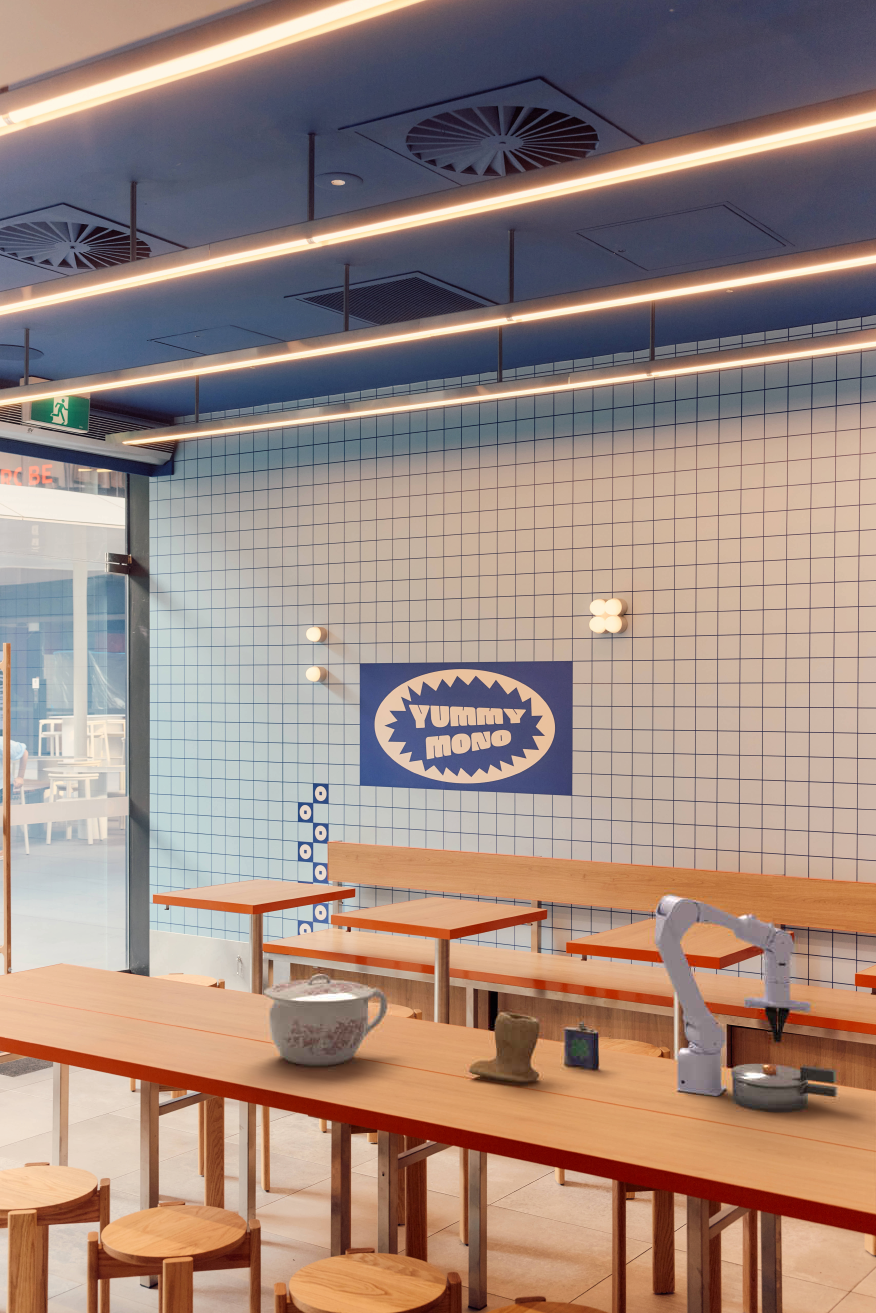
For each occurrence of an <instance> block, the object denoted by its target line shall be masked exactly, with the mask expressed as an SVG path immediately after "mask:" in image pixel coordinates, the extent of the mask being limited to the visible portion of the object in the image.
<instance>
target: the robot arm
mask: <svg viewBox="0 0 876 1313" xmlns="http://www.w3.org/2000/svg"><path fill="white" fill-rule="evenodd" d="M654 913H655V917H656V919H655V920H656V921H655V930H654V943H655V946H656V948H657V949H658V950H657V951H658V953H659V955H660V958H661V960H662V962H663V964H664V967H665V970H666V972H667V975H668V977H669V979H670V982H671V984H672V986H673V989H674V992H675V994H676V997H677V999H678V1001H679V1003H680V1006H681V1008H682V1011H683V1013H682V1017H681V1018H682V1020H683V1023H684V1035H685V1037H686V1039H687V1041H688V1042H689V1043H688V1047H681V1048H680V1049H679V1051H678V1056H677V1088H676V1091H678V1092H685V1093H692V1094H698V1095H707V1096H714V1097H718V1096H720V1095H721V1094H722V1093H723V1092H724V1091H725V1090H727V1086H726V1085H722V1049H723V1047H724V1045H725V1043H726V1038H727V1036H726V1033H725V1031H724V1029H723V1028H722V1027H721V1026H719V1024H718V1023H717V1022H716V1019H715V1017H714V1015H713V1014H712V1012H710V1010H709V1008H707V1005H706V1003H705V1001H704V998H703V996H702V994H701V992H700V988H699V986H698V984H697V982H696V981H697V980H695V977H694V974H693V971H692V970H691V967H690V964H689V963H688V960H687V957H686V955H685V952H684V950H683V948H682V946H681V941H682V940H683V937H684V935H685V934H686V933H687V932H688V931H689V929H691V927H692V926H694V924H695V923H696V922H697V923H702V922H704V921H708V922H711V923H713V924H715V925H719V926H720V927H724V928H727V929H729V930H731V931H733V934H734V936H735V937H736V939H738V940H740V941H743V942H746V943H748V944H751V945H752V946H754V947H757V948H760V949H762V950H763V959H764V960H763V962H764V963H763V968H764V969H763V970H764V971H763V973H764V975H763V976H764V977H763V978H764V980H763V981H764V984H763V986H764V988H763V990H764V993H763V994H764V997H745V998H744V1008H746V1009H747V1008H749V1009H750V1008H757V1009H764V1010H765V1011H764V1013H765V1014H764V1015H765V1016H766V1018H767V1020H768V1023H769V1025H770V1028H771V1031H772V1034H773V1035H772V1036H773V1042H774V1043H782V1034H783V1031H784V1026H785V1024H786V1022H787V1019H788V1017H789V1014H790V1011H794V1012H795V1011H796V1012H805V1013H811V1002H809V1001H801V1000H793V999H791V974H790V973H791V962H790V959H791V954H792V952H793V950H794V948H795V941H794V940H793V937H792V935H790V933H789V932H788V931H786V930H783V929H780V928H777V927H775V924H774V923H772V922H768V923H766V922H764V921H762V920H759V919H757V918H758V916H757V915H753V914H750V913H749V914H748V915H747V914H743V915H741V916H737V917H736V916H734V915H732V914H730V913H728V912H726V911H723V910H722V909H719V908H716V907H715V906H713V905H710V904H708V903H705V902H703V901H698V900H694V899H690V898H686V897H680V896H678V895H675V894H668V895H664V896H663V897H661V899H660V901H659V903H658V904H657V906H656V908H655V910H654Z"/></svg>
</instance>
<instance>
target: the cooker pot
mask: <svg viewBox="0 0 876 1313" xmlns="http://www.w3.org/2000/svg"><path fill="white" fill-rule="evenodd" d="M731 1078H732V1081H731V1082H732V1101H733V1103H734V1104H736V1105H738V1106H740V1107H743V1108H746V1109H750V1110H755V1111H761V1112H767V1113H796V1112H800V1111H804V1110H806V1109H807V1108H808V1106H809V1095H817V1096H824V1097H831V1098H832V1097H833V1098H835V1097H836V1096H837V1095H838V1090H837V1089H838V1087H837V1086H832V1085H826V1084H818V1083H817V1084H816V1083H811V1082H810V1083H809V1082H808V1083H807V1084H805V1085H802V1086H798V1087H786V1088H779V1087H764V1086H757V1085H752V1084H747V1083H744V1082H740V1081H738V1080H736V1079H734V1078H733V1077H732V1076H731Z"/></svg>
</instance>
